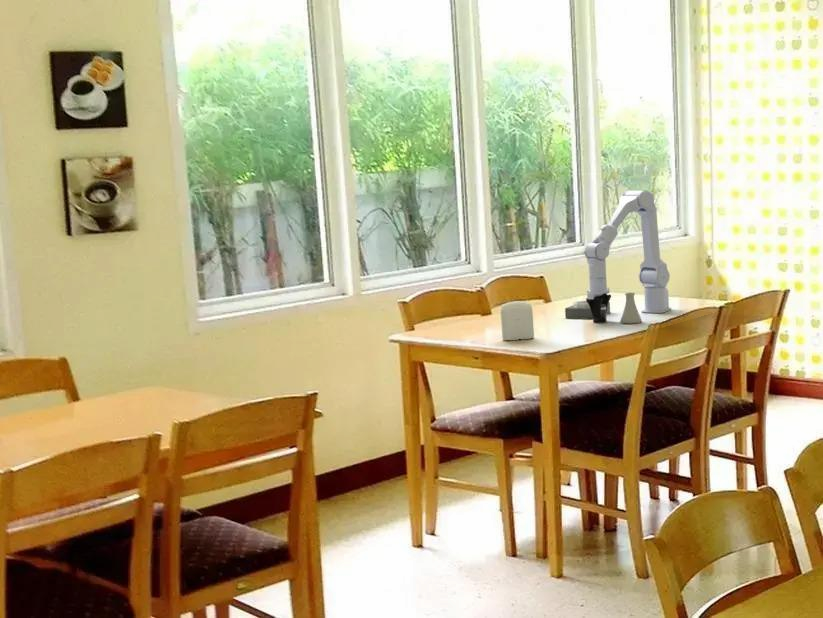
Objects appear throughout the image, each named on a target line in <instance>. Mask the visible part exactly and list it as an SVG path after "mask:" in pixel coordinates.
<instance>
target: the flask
mask: <svg viewBox="0 0 823 618" xmlns="http://www.w3.org/2000/svg"><path fill="white" fill-rule="evenodd" d="M624 295H625V305H624V309H623V311H622V312H623V313H622V315H621V318H620V322H619V323H621V324H628V325H629V324H630V325H631V324H632V325H633V324H639V323H641V322H643V321H642V317H641V316H640V312H639V311H638V307H637V305H636V302H635V301H636V300H635V292H625V293H624Z"/></svg>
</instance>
